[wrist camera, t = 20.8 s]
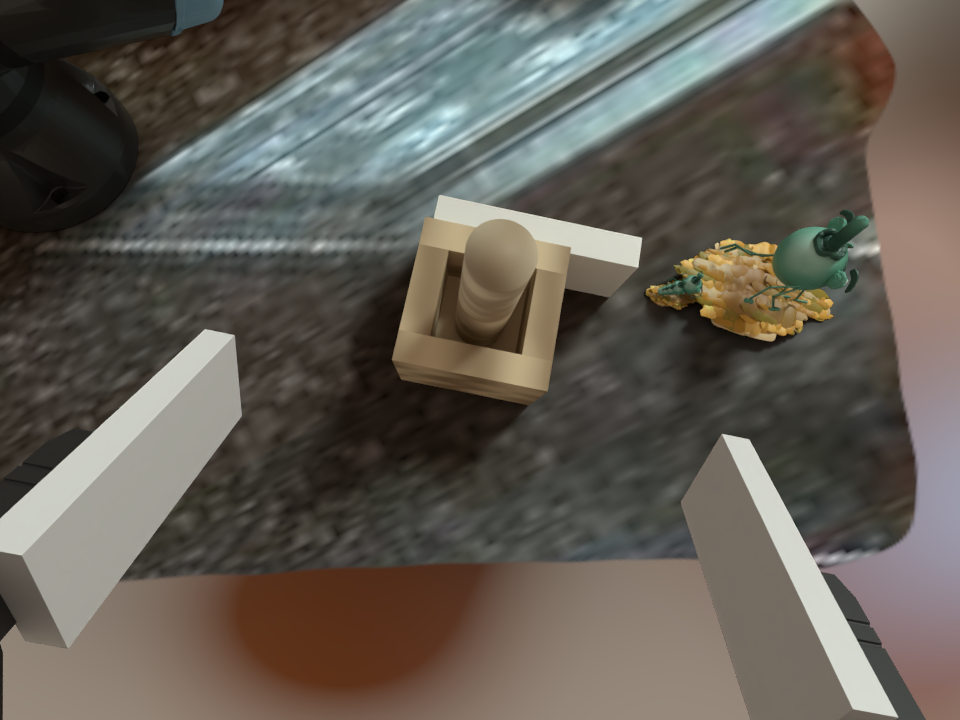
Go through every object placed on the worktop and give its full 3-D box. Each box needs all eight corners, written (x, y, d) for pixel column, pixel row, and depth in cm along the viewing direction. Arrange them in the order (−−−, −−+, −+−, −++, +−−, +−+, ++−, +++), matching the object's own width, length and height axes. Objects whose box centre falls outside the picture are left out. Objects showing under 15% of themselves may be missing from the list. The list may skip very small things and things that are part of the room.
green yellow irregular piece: (649, 222, 48) (762, 120, 34) (817, 270, 50) (988, 194, 36) (637, 318, 46) (752, 252, 32) (813, 363, 48) (993, 321, 34)
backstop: (433, 261, 45) (432, 224, 39) (439, 235, 46) (439, 194, 39) (609, 297, 46) (638, 267, 39) (612, 271, 46) (641, 238, 40)
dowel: (450, 341, 41) (458, 280, 27) (459, 295, 42) (471, 212, 28) (499, 351, 41) (532, 294, 27) (507, 304, 42) (543, 226, 28)
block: (401, 379, 43) (391, 359, 35) (428, 259, 45) (425, 216, 38) (528, 405, 43) (547, 391, 36) (549, 285, 46) (571, 247, 38)
